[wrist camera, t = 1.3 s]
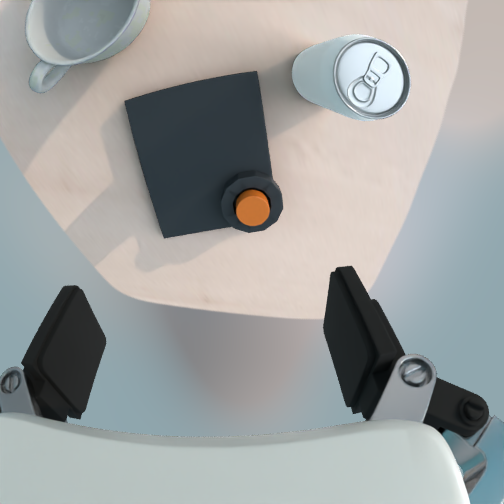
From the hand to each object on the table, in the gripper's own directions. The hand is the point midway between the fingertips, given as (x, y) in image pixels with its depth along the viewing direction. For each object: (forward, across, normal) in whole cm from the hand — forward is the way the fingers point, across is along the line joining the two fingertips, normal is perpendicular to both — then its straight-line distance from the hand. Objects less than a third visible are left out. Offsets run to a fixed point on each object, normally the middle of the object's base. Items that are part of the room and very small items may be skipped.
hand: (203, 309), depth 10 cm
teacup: (+22, +11, -16) cm, 30 cm away
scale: (+22, +2, 0) cm, 22 cm away
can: (+22, -10, -8) cm, 26 cm away
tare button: (+20, -3, +5) cm, 20 cm away
